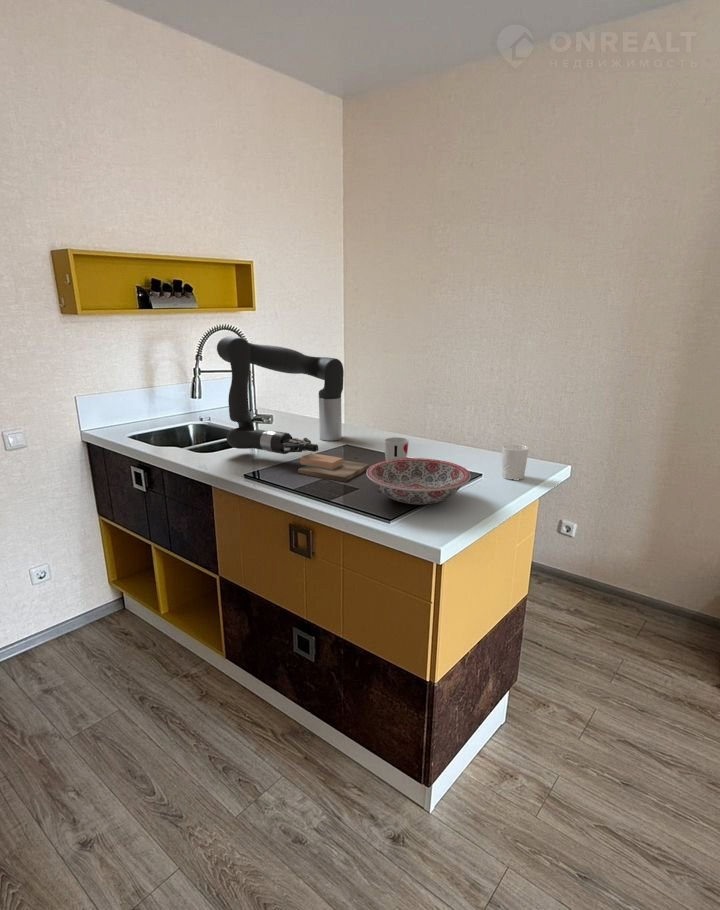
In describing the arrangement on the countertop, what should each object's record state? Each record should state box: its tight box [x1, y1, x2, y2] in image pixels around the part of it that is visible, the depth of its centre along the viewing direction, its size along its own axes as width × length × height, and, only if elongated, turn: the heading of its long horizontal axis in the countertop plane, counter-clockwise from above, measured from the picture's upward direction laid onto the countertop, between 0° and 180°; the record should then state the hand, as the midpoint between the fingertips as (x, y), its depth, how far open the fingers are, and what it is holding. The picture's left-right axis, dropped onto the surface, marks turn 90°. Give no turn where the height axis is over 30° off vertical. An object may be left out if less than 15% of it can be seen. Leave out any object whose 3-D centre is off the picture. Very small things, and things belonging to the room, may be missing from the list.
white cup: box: [501, 443, 529, 480], centre depth 167 cm, size 8×8×10 cm
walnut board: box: [297, 459, 370, 483], centre depth 175 cm, size 16×18×2 cm
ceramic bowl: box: [365, 457, 472, 505], centre depth 148 cm, size 29×29×8 cm
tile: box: [299, 452, 344, 470], centre depth 176 cm, size 6×2×13 cm
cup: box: [383, 436, 409, 461], centre depth 176 cm, size 8×8×10 cm
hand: (317, 448), depth 176 cm, fingers closed
